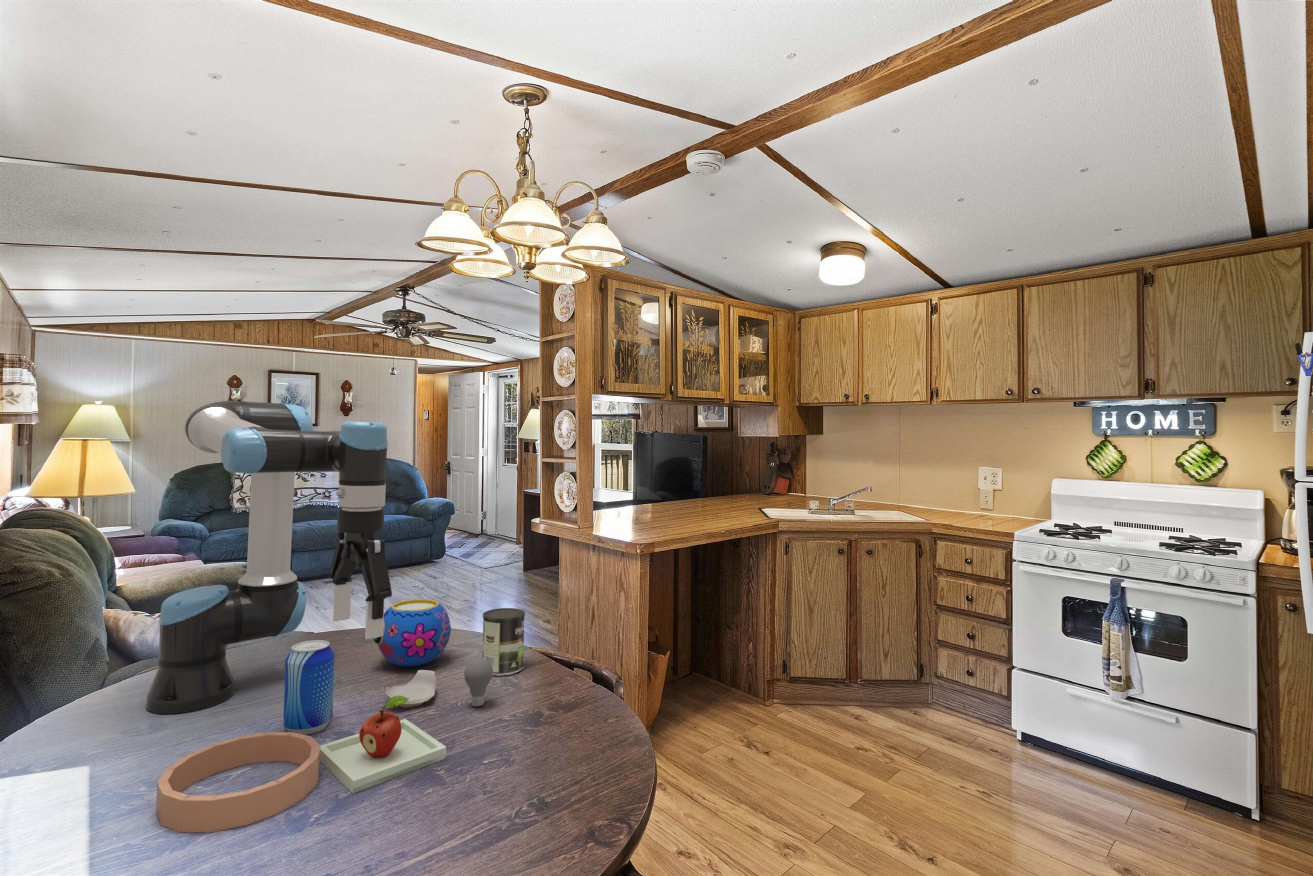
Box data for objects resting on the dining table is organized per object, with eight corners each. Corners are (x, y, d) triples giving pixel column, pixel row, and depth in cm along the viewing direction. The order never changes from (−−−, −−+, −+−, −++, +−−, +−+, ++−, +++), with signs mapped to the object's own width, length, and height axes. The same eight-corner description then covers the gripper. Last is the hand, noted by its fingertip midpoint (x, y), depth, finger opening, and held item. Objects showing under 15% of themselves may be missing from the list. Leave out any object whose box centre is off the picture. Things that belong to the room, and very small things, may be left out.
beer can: (310, 739, 117) (313, 654, 117) (272, 734, 118) (275, 650, 119) (341, 720, 125) (344, 640, 125) (305, 715, 127) (308, 637, 127)
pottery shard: (379, 714, 128) (380, 690, 128) (387, 694, 139) (388, 671, 139) (433, 709, 131) (433, 686, 131) (436, 690, 142) (437, 668, 142)
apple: (365, 768, 105) (367, 709, 105) (354, 753, 110) (355, 696, 110) (411, 755, 110) (413, 698, 110) (398, 740, 115) (400, 686, 115)
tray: (317, 758, 110) (317, 746, 110) (405, 729, 122) (405, 719, 122) (353, 793, 99) (353, 781, 99) (446, 758, 111) (446, 747, 111)
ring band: (146, 790, 99) (147, 762, 99) (294, 745, 114) (294, 721, 114) (173, 852, 84) (174, 819, 84) (338, 791, 100) (339, 763, 100)
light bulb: (476, 714, 129) (478, 665, 129) (457, 707, 132) (458, 660, 133) (498, 704, 134) (499, 657, 135) (478, 697, 138) (480, 652, 138)
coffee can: (527, 662, 160) (528, 608, 161) (518, 677, 150) (519, 619, 150) (488, 661, 161) (489, 607, 161) (475, 676, 150) (477, 618, 150)
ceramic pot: (388, 652, 166) (389, 596, 166) (456, 651, 168) (457, 596, 168) (364, 676, 148) (366, 613, 149) (441, 675, 150) (442, 613, 150)
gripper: (312, 503, 115) (308, 616, 115) (371, 517, 99) (366, 650, 99) (353, 500, 121) (349, 609, 121) (416, 514, 104) (411, 640, 104)
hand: (357, 628), depth 110 cm, fingers open, 13 cm apart
